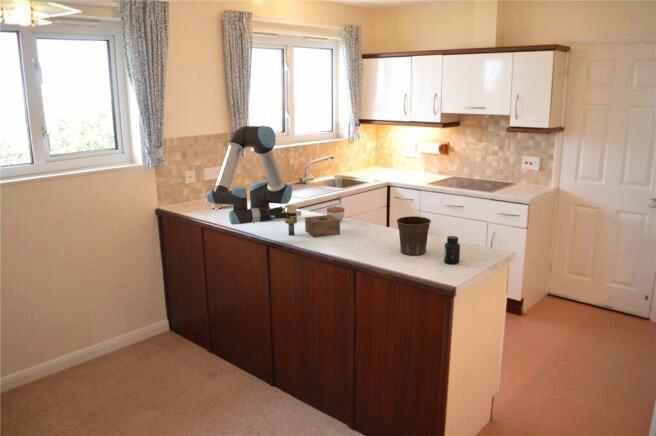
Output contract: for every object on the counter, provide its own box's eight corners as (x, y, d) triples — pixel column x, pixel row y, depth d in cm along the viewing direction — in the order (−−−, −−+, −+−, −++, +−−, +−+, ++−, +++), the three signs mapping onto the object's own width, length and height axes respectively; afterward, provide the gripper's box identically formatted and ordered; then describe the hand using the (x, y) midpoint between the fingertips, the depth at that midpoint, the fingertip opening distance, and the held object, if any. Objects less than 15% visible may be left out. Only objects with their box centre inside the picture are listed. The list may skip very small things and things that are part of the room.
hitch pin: (284, 234, 299) (283, 205, 295) (295, 232, 301) (294, 204, 297) (287, 236, 293) (286, 208, 289) (298, 235, 295) (298, 207, 292)
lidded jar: (333, 218, 333) (333, 203, 331) (348, 220, 327) (347, 205, 325) (323, 221, 324) (323, 206, 322) (338, 224, 318) (337, 208, 316)
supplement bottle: (442, 264, 244) (443, 238, 241) (445, 259, 250) (446, 234, 248) (458, 265, 242) (459, 239, 239) (460, 260, 248) (461, 235, 245)
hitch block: (305, 231, 304) (304, 217, 302) (329, 228, 310) (329, 214, 308) (314, 237, 291) (314, 223, 289) (340, 234, 296) (339, 220, 294)
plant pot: (407, 259, 252) (408, 225, 248) (390, 250, 266) (390, 218, 263) (436, 254, 258) (437, 222, 254) (418, 245, 273) (418, 215, 269)
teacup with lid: (219, 206, 373) (218, 189, 370) (225, 208, 366) (224, 191, 364) (203, 208, 366) (201, 191, 363) (209, 210, 359) (208, 193, 356)
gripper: (253, 217, 299) (290, 213, 307) (264, 226, 278) (304, 222, 286) (253, 204, 298) (290, 200, 305) (264, 212, 276) (304, 208, 284)
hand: (297, 211), depth 295 cm, fingers open, 11 cm apart
